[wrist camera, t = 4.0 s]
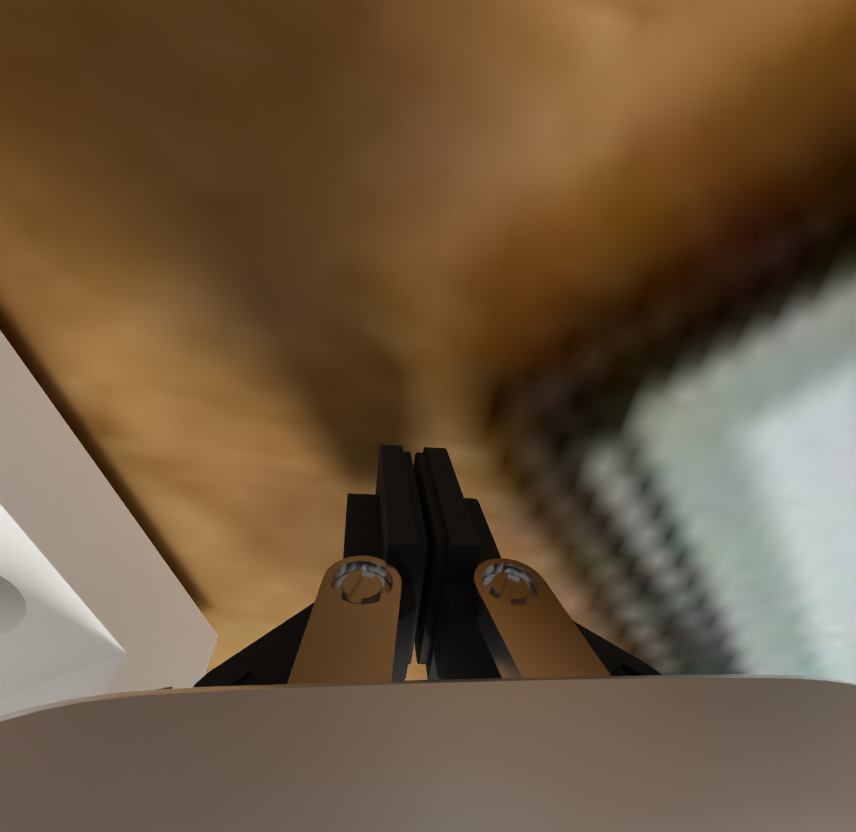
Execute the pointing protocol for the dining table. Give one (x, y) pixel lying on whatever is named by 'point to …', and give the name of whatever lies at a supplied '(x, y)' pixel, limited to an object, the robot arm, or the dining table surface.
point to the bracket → (79, 570)
